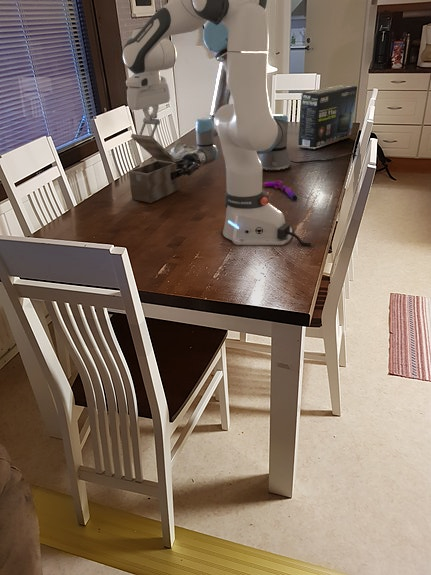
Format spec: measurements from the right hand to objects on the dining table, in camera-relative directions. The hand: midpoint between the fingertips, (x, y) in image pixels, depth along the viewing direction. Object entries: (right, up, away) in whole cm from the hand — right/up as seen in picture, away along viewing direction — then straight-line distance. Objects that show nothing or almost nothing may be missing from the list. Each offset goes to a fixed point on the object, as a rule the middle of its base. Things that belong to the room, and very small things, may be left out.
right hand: (161, 174), depth 184 cm
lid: (-2, +8, -8) cm, 11 cm away
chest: (-2, -8, 0) cm, 8 cm away
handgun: (+47, -8, -2) cm, 48 cm away
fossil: (+3, +19, +45) cm, 49 cm away
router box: (+80, +32, +60) cm, 105 cm away
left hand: (-2, +18, -13) cm, 22 cm away
